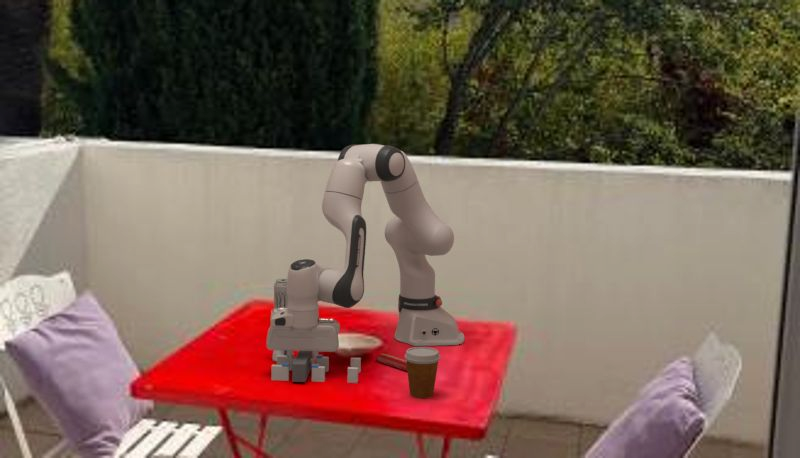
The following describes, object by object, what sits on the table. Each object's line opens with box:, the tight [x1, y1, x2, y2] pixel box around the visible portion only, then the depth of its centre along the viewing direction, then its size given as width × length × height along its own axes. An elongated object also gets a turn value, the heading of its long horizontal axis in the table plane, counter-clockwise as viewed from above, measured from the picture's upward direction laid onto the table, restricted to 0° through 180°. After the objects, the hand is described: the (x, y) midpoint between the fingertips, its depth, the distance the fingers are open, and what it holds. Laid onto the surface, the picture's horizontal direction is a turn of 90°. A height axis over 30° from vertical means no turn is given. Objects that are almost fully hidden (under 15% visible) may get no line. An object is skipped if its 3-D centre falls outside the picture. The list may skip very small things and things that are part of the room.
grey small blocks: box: [270, 353, 362, 384], centre depth 288 cm, size 24×10×5 cm, turn 87°
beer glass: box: [270, 308, 287, 363], centre depth 301 cm, size 7×7×15 cm
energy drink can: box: [273, 278, 289, 309], centre depth 340 cm, size 6×6×15 cm
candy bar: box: [374, 353, 408, 372], centre depth 298 cm, size 16×4×3 cm, turn 44°
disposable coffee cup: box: [404, 346, 441, 399], centre depth 273 cm, size 10×10×12 cm
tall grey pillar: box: [291, 351, 314, 383], centre depth 288 cm, size 4×16×5 cm, turn 177°
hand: (302, 365), depth 288 cm, fingers open, 4 cm apart
